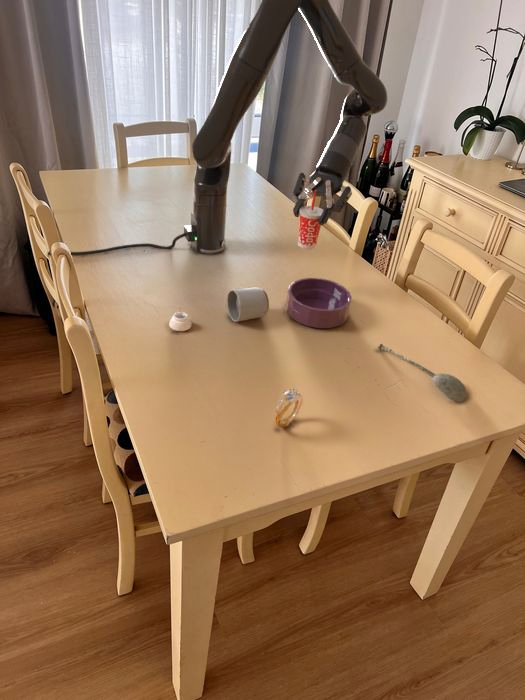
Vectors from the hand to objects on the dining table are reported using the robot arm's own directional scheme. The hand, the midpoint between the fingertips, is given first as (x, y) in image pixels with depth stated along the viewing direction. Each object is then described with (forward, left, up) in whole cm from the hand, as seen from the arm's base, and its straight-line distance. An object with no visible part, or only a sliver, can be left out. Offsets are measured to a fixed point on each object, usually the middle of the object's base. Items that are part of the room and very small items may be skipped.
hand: (308, 219), depth 123 cm
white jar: (-34, -7, -20) cm, 40 cm away
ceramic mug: (-18, -6, -20) cm, 28 cm away
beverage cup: (+1, +1, -8) cm, 8 cm away
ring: (-24, -43, -20) cm, 53 cm away
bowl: (0, -10, -20) cm, 23 cm away
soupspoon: (+11, -38, -20) cm, 45 cm away
